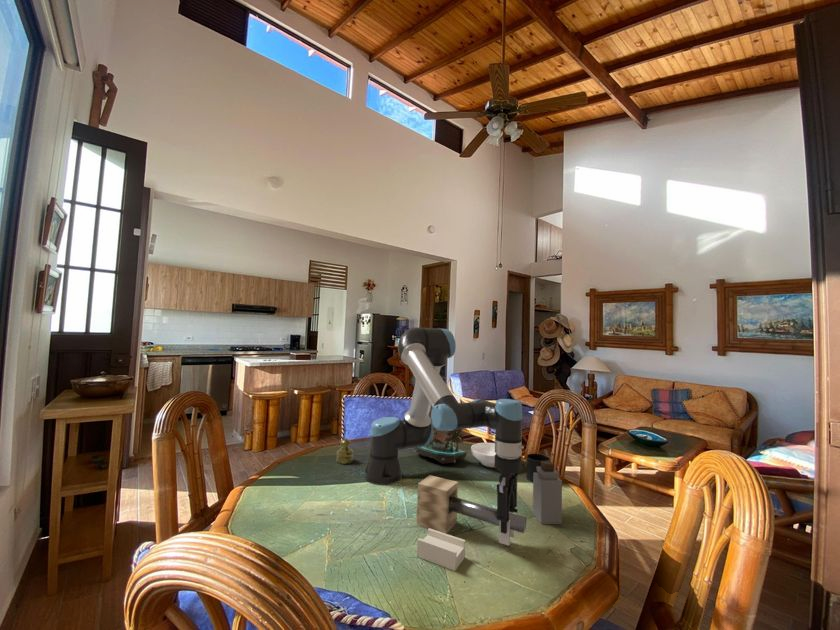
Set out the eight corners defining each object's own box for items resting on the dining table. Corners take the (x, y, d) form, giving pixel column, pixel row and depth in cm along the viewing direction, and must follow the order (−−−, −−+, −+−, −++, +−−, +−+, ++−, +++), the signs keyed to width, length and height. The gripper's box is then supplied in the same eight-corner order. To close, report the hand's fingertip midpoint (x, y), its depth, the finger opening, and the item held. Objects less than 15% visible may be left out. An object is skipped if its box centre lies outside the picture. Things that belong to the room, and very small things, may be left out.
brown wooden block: (416, 524, 111) (417, 483, 112) (428, 513, 118) (429, 475, 119) (445, 534, 106) (447, 491, 107) (456, 522, 113) (457, 482, 114)
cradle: (416, 556, 95) (417, 539, 95) (428, 544, 101) (429, 528, 101) (454, 571, 90) (455, 552, 90) (465, 557, 95) (465, 540, 96)
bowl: (488, 475, 152) (488, 458, 153) (462, 460, 170) (462, 445, 170) (522, 468, 161) (523, 452, 162) (494, 455, 179) (495, 440, 179)
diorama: (449, 469, 157) (452, 424, 159) (406, 456, 173) (410, 415, 175) (471, 462, 171) (474, 421, 174) (430, 451, 187) (433, 413, 190)
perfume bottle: (532, 513, 120) (533, 459, 121) (552, 513, 121) (552, 459, 122) (541, 524, 114) (541, 466, 115) (561, 523, 114) (562, 466, 115)
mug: (547, 488, 141) (548, 464, 142) (521, 478, 151) (522, 456, 151) (560, 482, 148) (560, 459, 148) (534, 473, 157) (534, 452, 157)
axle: (443, 511, 109) (443, 498, 109) (448, 505, 113) (448, 492, 113) (522, 536, 97) (522, 521, 97) (526, 528, 101) (526, 514, 101)
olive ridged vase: (333, 462, 162) (334, 440, 162) (342, 457, 169) (343, 436, 169) (346, 465, 159) (347, 442, 159) (356, 460, 166) (356, 438, 166)
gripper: (513, 466, 93) (511, 559, 92) (528, 449, 108) (527, 529, 107) (485, 460, 97) (483, 550, 96) (503, 445, 112) (502, 522, 110)
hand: (506, 539), depth 101 cm, fingers closed on axle, 4 cm apart
